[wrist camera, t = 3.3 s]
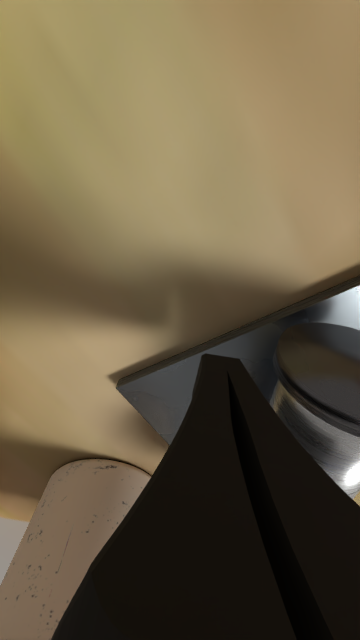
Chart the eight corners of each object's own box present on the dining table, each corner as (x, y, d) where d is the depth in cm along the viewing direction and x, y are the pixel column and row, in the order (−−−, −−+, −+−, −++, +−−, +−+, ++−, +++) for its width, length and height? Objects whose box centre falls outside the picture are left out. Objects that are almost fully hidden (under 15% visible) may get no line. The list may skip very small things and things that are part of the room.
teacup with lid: (30, 491, 21) (-124, 796, 11) (80, 435, 17) (-92, 840, 7) (157, 539, 24) (128, 809, 14) (224, 502, 20) (251, 843, 10)
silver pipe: (286, 491, 17) (318, 608, 13) (215, 483, 17) (221, 598, 13) (379, 323, 10) (514, 444, 6) (262, 312, 10) (310, 424, 6)
